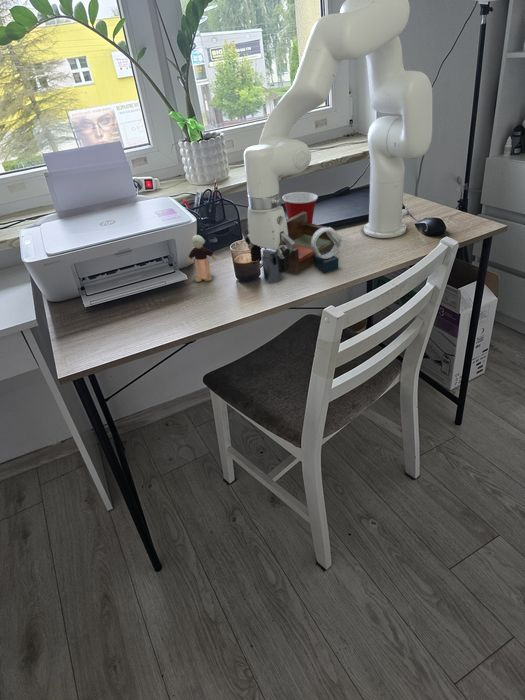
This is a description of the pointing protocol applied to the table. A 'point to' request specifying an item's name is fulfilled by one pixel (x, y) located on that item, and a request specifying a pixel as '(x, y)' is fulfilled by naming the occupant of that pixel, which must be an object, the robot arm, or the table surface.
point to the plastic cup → (300, 204)
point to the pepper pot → (271, 266)
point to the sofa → (304, 243)
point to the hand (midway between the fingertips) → (270, 266)
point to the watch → (327, 259)
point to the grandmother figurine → (201, 259)
